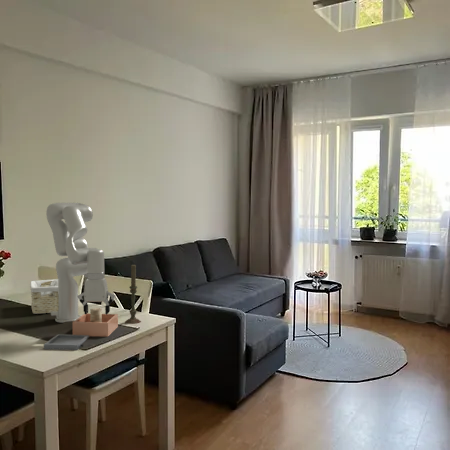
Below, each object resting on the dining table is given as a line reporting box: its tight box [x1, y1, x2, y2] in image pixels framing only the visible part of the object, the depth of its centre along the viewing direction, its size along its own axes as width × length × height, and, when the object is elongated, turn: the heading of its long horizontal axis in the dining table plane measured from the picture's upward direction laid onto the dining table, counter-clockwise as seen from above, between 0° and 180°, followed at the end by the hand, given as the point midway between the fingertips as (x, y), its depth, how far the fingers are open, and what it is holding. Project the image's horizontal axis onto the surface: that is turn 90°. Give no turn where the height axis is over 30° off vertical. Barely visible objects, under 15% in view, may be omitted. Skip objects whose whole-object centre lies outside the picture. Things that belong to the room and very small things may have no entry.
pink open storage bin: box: [72, 312, 119, 337], centre depth 217 cm, size 16×16×7 cm
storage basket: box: [29, 278, 58, 315], centre depth 261 cm, size 24×16×15 cm
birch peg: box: [89, 307, 103, 322], centre depth 217 cm, size 5×5×10 cm
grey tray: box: [43, 333, 90, 351], centre depth 201 cm, size 14×14×2 cm
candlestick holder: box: [124, 264, 142, 325], centre depth 233 cm, size 9×9×30 cm
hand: (96, 313), depth 216 cm, fingers open, 9 cm apart
